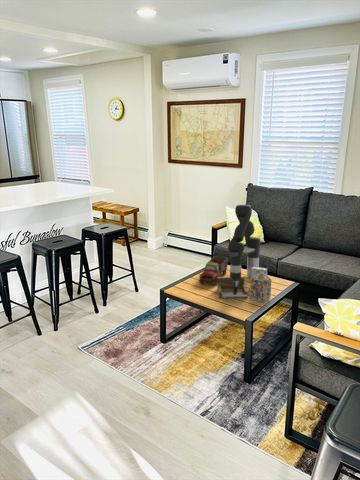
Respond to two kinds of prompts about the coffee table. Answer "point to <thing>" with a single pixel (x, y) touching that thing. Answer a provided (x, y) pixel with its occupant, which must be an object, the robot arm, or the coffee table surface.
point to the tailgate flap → (234, 296)
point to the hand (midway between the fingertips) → (234, 294)
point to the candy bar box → (258, 271)
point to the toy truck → (214, 270)
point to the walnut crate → (230, 287)
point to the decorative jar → (260, 288)
